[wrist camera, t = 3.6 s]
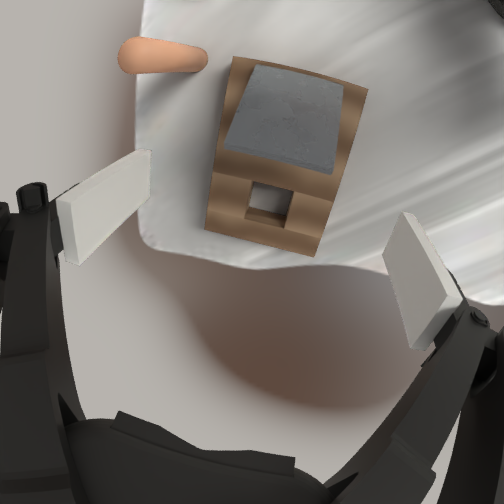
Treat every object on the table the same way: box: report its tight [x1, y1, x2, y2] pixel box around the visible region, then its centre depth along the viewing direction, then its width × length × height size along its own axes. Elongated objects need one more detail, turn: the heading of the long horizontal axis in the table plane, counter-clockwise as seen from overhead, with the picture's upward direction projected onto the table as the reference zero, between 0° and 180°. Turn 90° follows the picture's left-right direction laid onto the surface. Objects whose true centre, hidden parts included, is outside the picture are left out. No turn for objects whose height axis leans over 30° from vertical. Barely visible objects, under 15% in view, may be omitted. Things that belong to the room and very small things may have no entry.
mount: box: [204, 56, 368, 257], centre depth 38 cm, size 24×16×4 cm, turn 169°
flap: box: [224, 64, 344, 175], centre depth 28 cm, size 12×10×1 cm
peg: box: [118, 37, 208, 74], centre depth 27 cm, size 4×4×16 cm
